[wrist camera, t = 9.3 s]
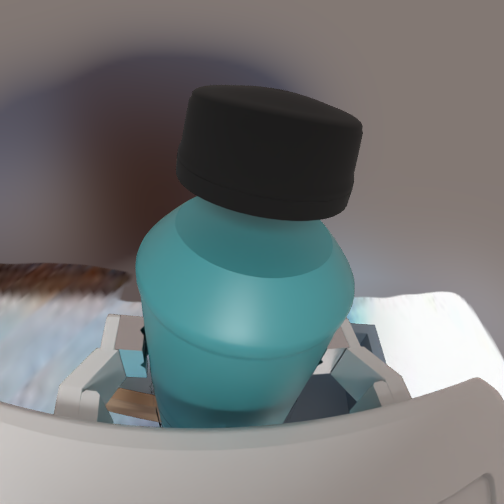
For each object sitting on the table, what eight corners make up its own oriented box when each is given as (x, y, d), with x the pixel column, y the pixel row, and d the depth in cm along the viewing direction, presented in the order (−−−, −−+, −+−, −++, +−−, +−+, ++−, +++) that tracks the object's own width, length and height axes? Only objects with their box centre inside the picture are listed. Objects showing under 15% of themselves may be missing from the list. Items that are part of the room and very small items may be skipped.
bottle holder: (220, 481, 22) (230, 463, 17) (228, 347, 35) (238, 298, 30) (376, 474, 24) (423, 449, 19) (354, 356, 37) (384, 313, 32)
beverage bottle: (281, 448, 18) (454, 144, 6) (205, 505, 14) (317, 146, 2) (219, 386, 21) (277, 79, 10) (143, 430, 17) (90, 76, 6)
